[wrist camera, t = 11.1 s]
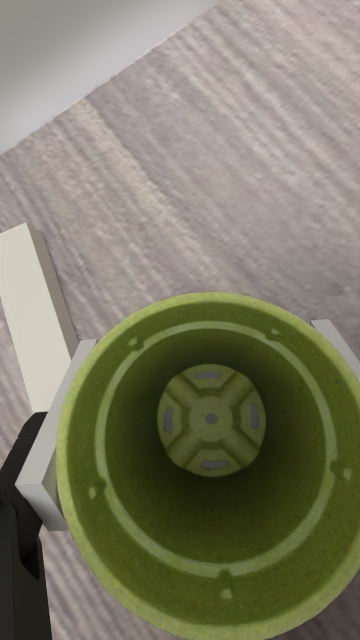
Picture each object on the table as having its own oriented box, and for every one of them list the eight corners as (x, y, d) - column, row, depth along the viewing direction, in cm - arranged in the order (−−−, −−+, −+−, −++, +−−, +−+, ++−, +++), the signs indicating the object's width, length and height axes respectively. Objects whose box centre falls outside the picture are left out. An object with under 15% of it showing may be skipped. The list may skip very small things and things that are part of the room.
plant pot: (130, 516, 17) (52, 652, 8) (122, 342, 19) (53, 306, 10) (309, 505, 16) (424, 640, 8) (281, 326, 18) (347, 275, 10)
